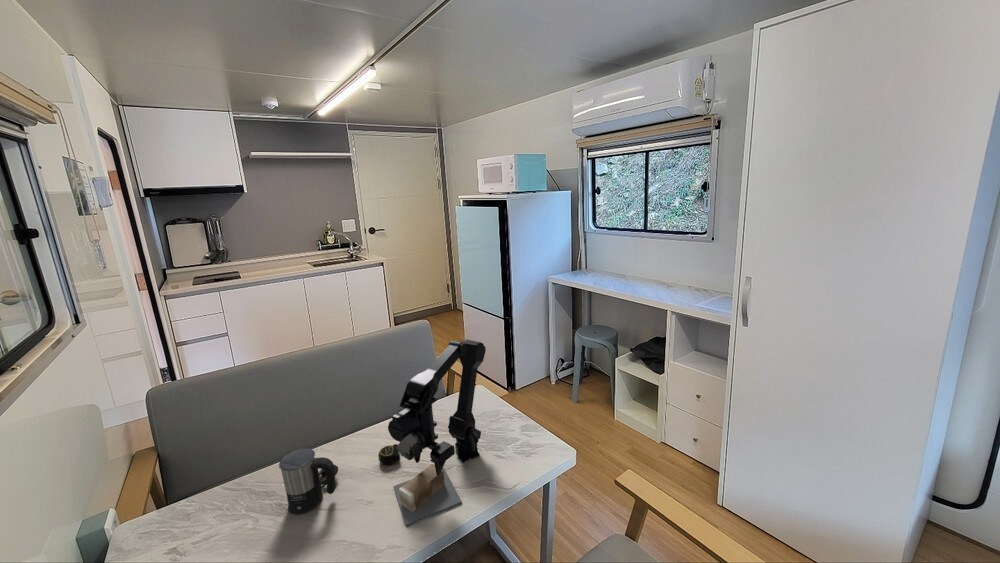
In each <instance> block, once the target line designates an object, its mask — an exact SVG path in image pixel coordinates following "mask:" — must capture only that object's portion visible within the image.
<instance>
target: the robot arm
mask: <svg viewBox="0 0 1000 563" xmlns="http://www.w3.org/2000/svg"><path fill="white" fill-rule="evenodd" d="M486 351H487V350H486V346H485V344H484V343H483V342H481V341H475V340H471V339H465V340H463V341H459V340H455V339H453V340H451V341H449V343H448V345H447V347H446V348H445V349H444V350H443V351H442V353H440V354H439V356H438V357H437V358H436V359H435V360H434V361H433V363H431V365H430V366H429V367H428V368H427V369H426V370H424V371H422V372H420V373H417V374H416V375H415V376H413V377H412V378H411V379H410V380H409V381H408V382H407V383H406V387H405V389H404V393H403V395H402V398H401V400H400V404H399V407H400V408H402V410H401V411H400V412H399V411H398V413H395V414H393V415H392V417H391V418H392V419H391V420H390V421H389V423H388V425H387V430H388V433H389V435H390V436H391V437H392V439H393V440H395V441H396V442H399V443H398V444H397V449H398V451H399V455H400V457H403V458H405V459H406V460H407V461H412V460H413V459H414V462H415V463H417V464H418V463H419V462H420V461H421V455H422V454H421V453H423V450H425V449H426V448H427V449H430V453H429V457H430V462H432V464H433V463H434V464H433V465H435V469H436V474H437V475H440V474H441V471H442V469H443V468H444V466H445V465H446V461H448V460H450V458H451V457H453V456H454V455H455V454H456V456H457V458H459V460H460V462H461V463H464V462H467V461H470V460H472V459H475V458H479V457H480V456H481V455H480V453H479V451H478V443H479V440H480V438H481V435H482V431H481V430H479V429H477V428H476V419H475V417H474V414H473V404H474V398H475V389H476V382H477V377H478V375H477V374H478V368H479V367H480V366H481V364H482V363H483V362H484V359H485V354H486ZM458 360H459V361H460V364H461V366H462V369H461V378H460V384H459V391H458V392H459V394H458V400H457V407H456V411H455V412H454V413H453V415H450V416H449V418H448V420H449V422H448V426H447V429H448V433H449V435H450V436H451V437H452V438H453V439H455V441H456V442H455V443H454V445H452V444H450V442H447V441H445V440H443V441H441V442H440V443H439V442H436V440H437V439H438V438H439V434H438V433H436V432H435V428H436V427H437V426H438V422H437V421H435V420H434V411H433V410H434V409H433V404H434V403H436V402H437V401H438V398H437V397H435V395H436V394H437V392H438V390H439V383H440V382H441V380H442V379H443V378H444V377H445V375H446V374H447V373H448V371H450V369H452V367H453V365H454V364H455V363H456V362H457V361H458ZM410 400H414V401H416V402H414V401H410Z"/></svg>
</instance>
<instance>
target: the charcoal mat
mask: <svg viewBox="0 0 1000 563" xmlns="http://www.w3.org/2000/svg"><path fill="white" fill-rule="evenodd" d="M442 470H444V481H445V485H444V486H442V487H441V488H440V489H439V490H438V491H437V492H435V493H434V494H433V495H432V496H431V497H429V498H428V499H427V500H426V501H425V502H423V503H422V504H421V505H420V506H419V507H418V508H416V509H415V510H414V511H413V512H412V511H410V510H409V509H407V508H406V507H405V506H403V505H402V504H401V501H400V492H399V489H400V488H401V487H402V486H403V485H405V484H406V483H407V482H409V481H410V480H411V479H409V480H406V481H403V482H401V483H398V484H395V485H393V486H392V488H393V490H394V495H395V497H396V500H397V502H398V503H397V504H398V506H399V509H400V512H401V515H402V519H403V521H404V524H405V525H404V526H405V527H409V526H412V525H413V524H417V523H419V522H421V521H424V520H425V519H428V518H431V517H432V516H435V515H437V514H440V513H442V512H445V511H447V510H450V509H452V508H454V507H456V506H459V505H461V504H462V503H463V502H462V501H463V500H462V499H461V497H460V495H459V494H458V491H457V490H456V488H455V486H454V484H453V482H452V480H451V478H450V477H449V475H448V473H447V471H446V470H445V468H444V467H443V469H442Z"/></svg>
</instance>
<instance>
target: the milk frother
mask: <svg viewBox="0 0 1000 563" xmlns="http://www.w3.org/2000/svg"><path fill="white" fill-rule="evenodd" d="M315 452H316V451H314V449H311V448H301V449H300V448H299V449H296V450H294V451H292V452H290V453H288V454H286V455H284V457H283V458H282V459H280V461H279V462H278V467H279V469H280V471H281V477H282V479H283V485H284V489H285V494H286V498H287V504H288V506H287V509H288V512H289V513H290V514H292V515H303V514H306V513H308V512H311V511H312V510H314V509H315V508H317V507H318V506H319V504H320V503H321V502H322V501H323V499H324V494H323V488H325V487H326V491H327V494H329V495H332V494H333V493H334V492H335V491H336V489H337V483H336V475H337V474H338V472H339V467H338V465H336V464H334V462H333V461H332V460H331V459H330V458H328V457H323V456H322V457H315V456H316V453H315ZM319 469H320V470H319ZM320 476H321V477H322V478H323V480H321V478H320Z"/></svg>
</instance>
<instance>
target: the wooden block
mask: <svg viewBox="0 0 1000 563" xmlns="http://www.w3.org/2000/svg"><path fill="white" fill-rule="evenodd" d="M409 480H410V481H409ZM409 480H408V481H409V482H407V483H406V484H405V485H403V486H402V487H401V488H400V489H399V492H400V501H401V504H402V505H403V506H405V507H406V508H407V509H409V510H410V511H412V512H413V511H414V510H415V509H416V508H418V507H419V506H420V505H421V504H422V503H423V502H425V501H426V500H427V499H428V498H429V497H431V496H432V495H433V494H434V493H435V492H437V491H438V490H439V489H440V488H441V487H442V486H444V485H445V481H444V470H442V471H441V474H440V475H437V474H436V469H435V464H433V463H431V464H430V465H428V467H426V468H424V469H423V470H422V471H421V472H420V473H417V475H415V476H414V477H412V478H411V479H409Z"/></svg>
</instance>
